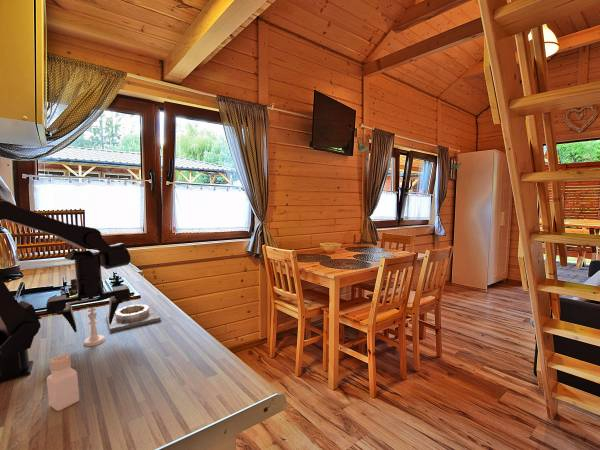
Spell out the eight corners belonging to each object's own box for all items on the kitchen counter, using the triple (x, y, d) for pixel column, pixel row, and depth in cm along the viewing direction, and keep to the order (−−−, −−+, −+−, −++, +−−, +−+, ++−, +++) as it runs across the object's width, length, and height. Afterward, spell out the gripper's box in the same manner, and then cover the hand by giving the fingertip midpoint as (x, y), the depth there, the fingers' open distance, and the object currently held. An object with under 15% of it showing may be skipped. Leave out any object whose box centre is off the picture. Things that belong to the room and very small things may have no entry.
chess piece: (80, 343, 86) (77, 308, 85) (98, 336, 90) (95, 303, 89) (90, 347, 84) (87, 312, 82) (108, 339, 88) (106, 305, 87)
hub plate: (160, 320, 101) (159, 311, 100) (110, 332, 92) (109, 322, 92) (152, 307, 112) (151, 299, 111) (106, 317, 104) (105, 308, 103)
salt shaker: (57, 413, 59) (52, 365, 58) (48, 405, 61) (43, 360, 60) (81, 401, 62) (76, 356, 61) (71, 394, 64) (67, 350, 63)
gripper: (124, 262, 97) (127, 311, 98) (47, 272, 86) (52, 326, 88) (128, 270, 88) (132, 323, 89) (43, 281, 77) (49, 341, 79)
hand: (93, 327), depth 86 cm, fingers open, 8 cm apart
